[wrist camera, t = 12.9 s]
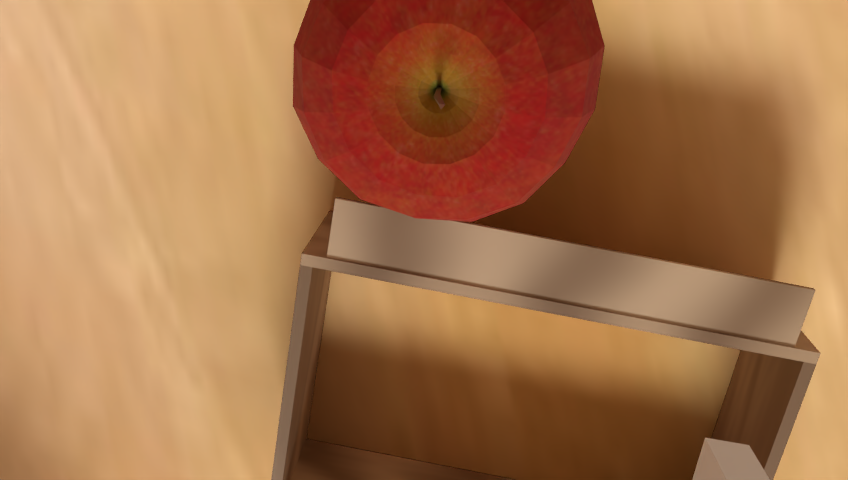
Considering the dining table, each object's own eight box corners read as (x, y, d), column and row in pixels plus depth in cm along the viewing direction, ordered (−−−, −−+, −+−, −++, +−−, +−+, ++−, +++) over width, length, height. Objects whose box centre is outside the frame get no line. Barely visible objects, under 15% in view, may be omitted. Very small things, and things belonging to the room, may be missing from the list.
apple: (530, -121, 32) (559, -178, 19) (610, 115, 35) (684, 207, 22) (296, -17, 34) (176, -5, 21) (389, 198, 37) (335, 329, 24)
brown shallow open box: (290, 485, 43) (260, 563, 38) (336, 159, 37) (309, 194, 32) (679, 561, 43) (708, 651, 37) (787, 245, 37) (841, 296, 31)
